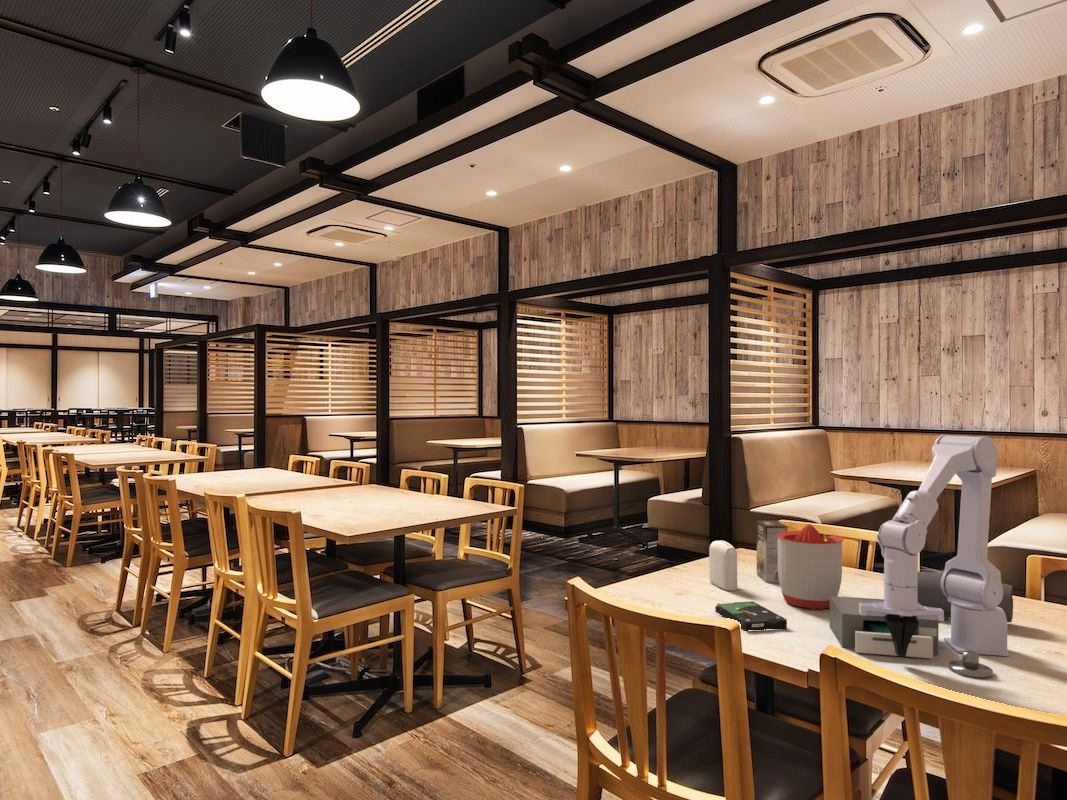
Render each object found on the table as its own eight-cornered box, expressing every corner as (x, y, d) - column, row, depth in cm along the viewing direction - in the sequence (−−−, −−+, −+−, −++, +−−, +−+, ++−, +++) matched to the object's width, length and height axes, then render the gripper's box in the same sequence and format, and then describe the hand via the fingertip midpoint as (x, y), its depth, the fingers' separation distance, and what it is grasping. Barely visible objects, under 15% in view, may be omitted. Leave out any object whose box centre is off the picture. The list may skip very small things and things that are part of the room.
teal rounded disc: (893, 633, 148) (893, 622, 148) (901, 642, 143) (901, 630, 143) (865, 631, 149) (865, 620, 149) (872, 640, 144) (872, 628, 144)
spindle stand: (983, 666, 134) (983, 648, 134) (999, 680, 127) (999, 661, 127) (943, 663, 135) (943, 645, 135) (956, 676, 128) (956, 657, 128)
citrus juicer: (855, 602, 176) (856, 523, 176) (827, 616, 164) (827, 532, 164) (795, 590, 187) (796, 516, 188) (765, 603, 175) (765, 523, 175)
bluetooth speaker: (896, 613, 167) (896, 572, 167) (903, 604, 175) (903, 565, 175) (1010, 633, 153) (1011, 587, 153) (1013, 622, 161) (1013, 579, 161)
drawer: (909, 633, 152) (909, 615, 152) (933, 658, 136) (933, 638, 136) (840, 628, 155) (840, 610, 155) (856, 652, 140) (856, 632, 140)
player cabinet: (917, 633, 153) (917, 601, 153) (938, 655, 139) (938, 620, 139) (829, 627, 157) (829, 595, 157) (842, 647, 143) (842, 613, 143)
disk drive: (788, 632, 155) (752, 611, 170) (788, 619, 155) (752, 600, 170) (746, 635, 153) (713, 614, 167) (746, 622, 153) (714, 602, 167)
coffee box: (755, 574, 204) (755, 520, 204) (777, 574, 204) (777, 520, 204) (765, 582, 195) (765, 525, 195) (788, 582, 195) (788, 525, 195)
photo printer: (707, 582, 196) (707, 538, 196) (721, 581, 197) (721, 537, 197) (724, 591, 186) (725, 545, 186) (739, 590, 187) (739, 544, 187)
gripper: (864, 586, 132) (864, 658, 132) (949, 592, 128) (949, 665, 128) (856, 577, 139) (856, 645, 138) (936, 582, 135) (936, 652, 135)
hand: (900, 654), depth 134 cm, fingers closed
